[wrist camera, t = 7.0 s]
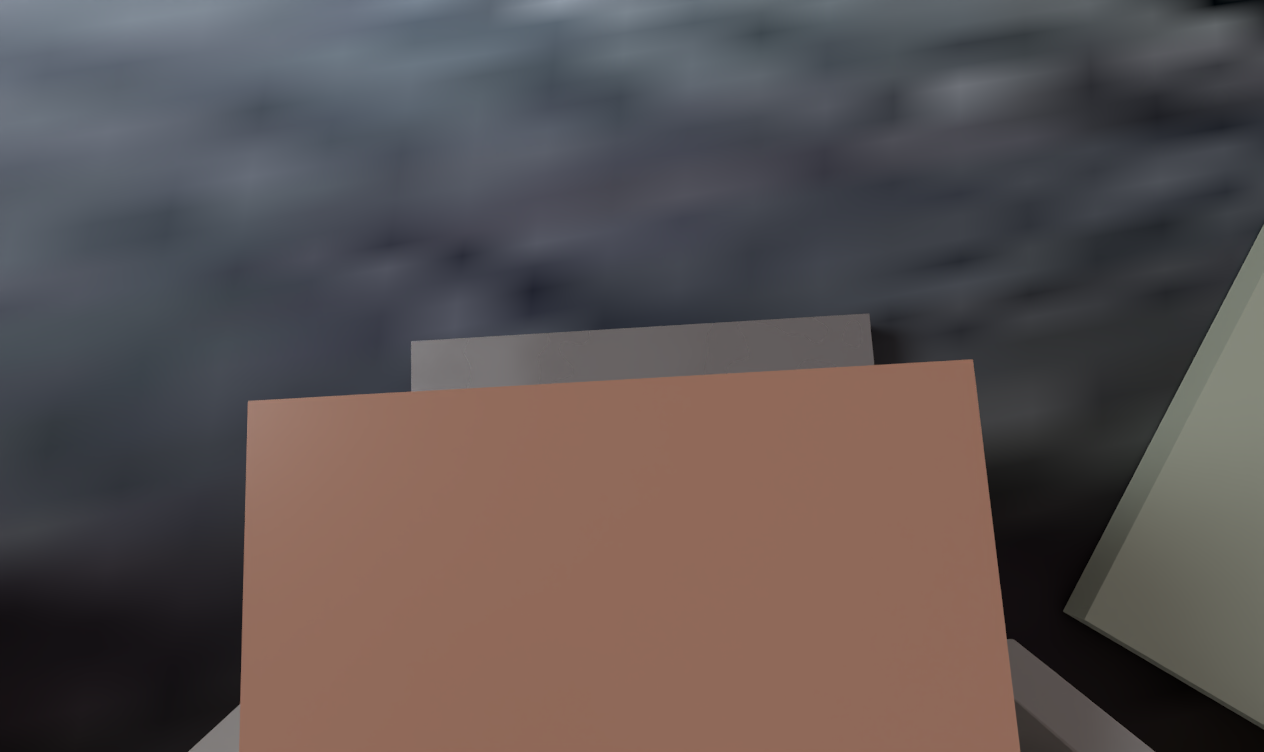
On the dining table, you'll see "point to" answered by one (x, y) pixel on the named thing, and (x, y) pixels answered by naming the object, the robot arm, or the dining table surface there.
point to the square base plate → (642, 352)
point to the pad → (1196, 521)
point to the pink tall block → (627, 568)
